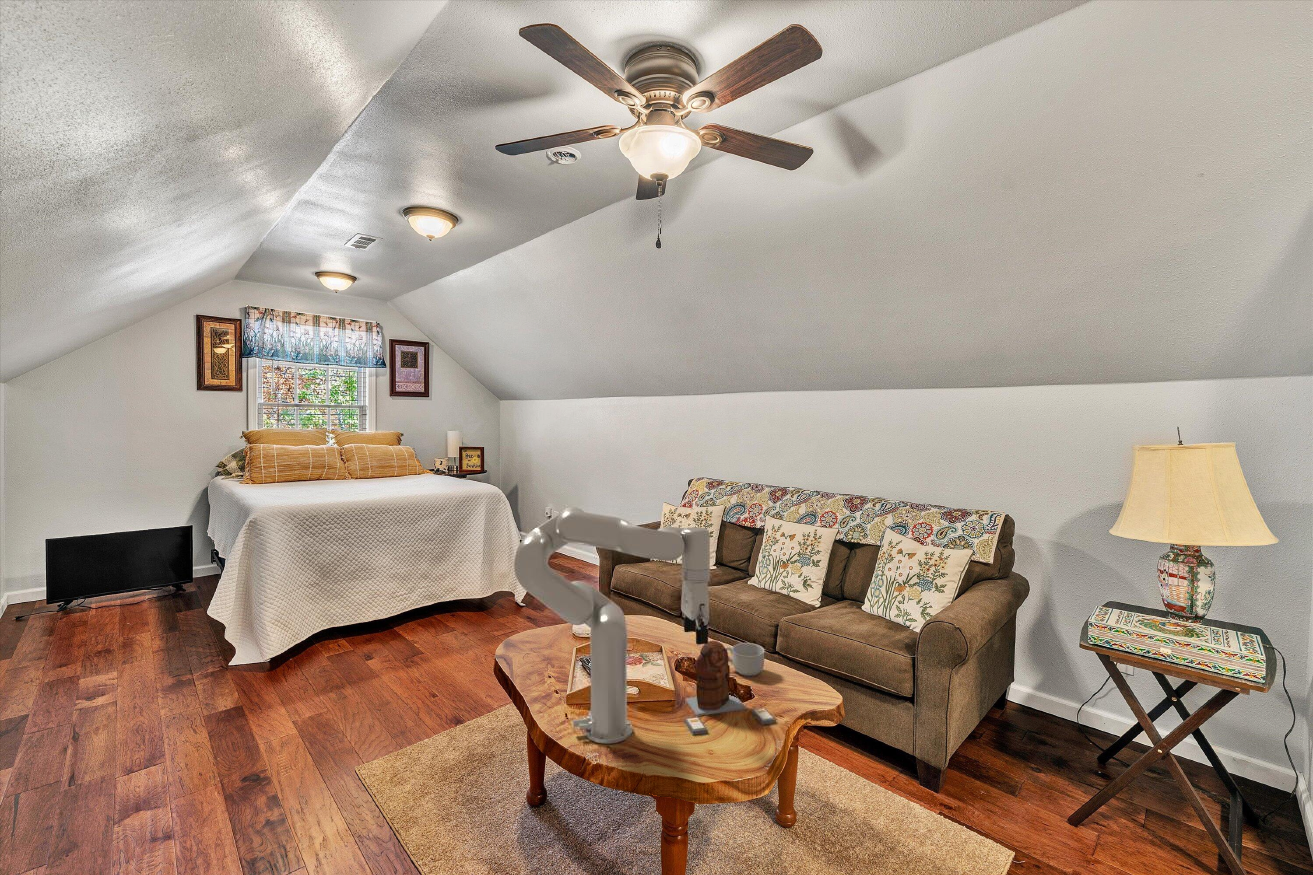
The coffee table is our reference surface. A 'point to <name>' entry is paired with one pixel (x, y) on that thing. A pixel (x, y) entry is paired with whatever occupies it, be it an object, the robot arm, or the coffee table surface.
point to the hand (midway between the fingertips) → (695, 637)
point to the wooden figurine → (712, 676)
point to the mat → (730, 705)
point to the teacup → (747, 658)
